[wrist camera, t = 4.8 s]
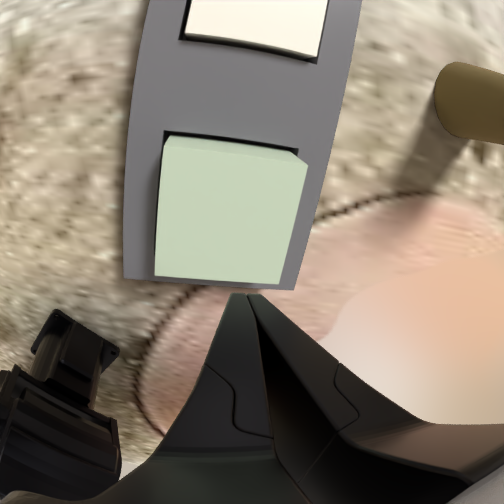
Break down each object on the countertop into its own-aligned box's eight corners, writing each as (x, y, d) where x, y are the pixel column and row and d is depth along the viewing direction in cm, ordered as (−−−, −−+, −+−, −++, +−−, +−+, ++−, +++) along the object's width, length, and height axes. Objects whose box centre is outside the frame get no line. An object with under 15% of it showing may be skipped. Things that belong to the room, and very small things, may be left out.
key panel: (280, 261, 23) (293, 290, 20) (133, 249, 20) (123, 278, 17) (344, -37, 13) (370, -53, 10) (181, -70, 11) (180, -96, 8)
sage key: (266, 253, 19) (278, 284, 16) (160, 243, 18) (154, 275, 15) (288, 150, 16) (308, 165, 13) (170, 134, 15) (163, 145, 12)
